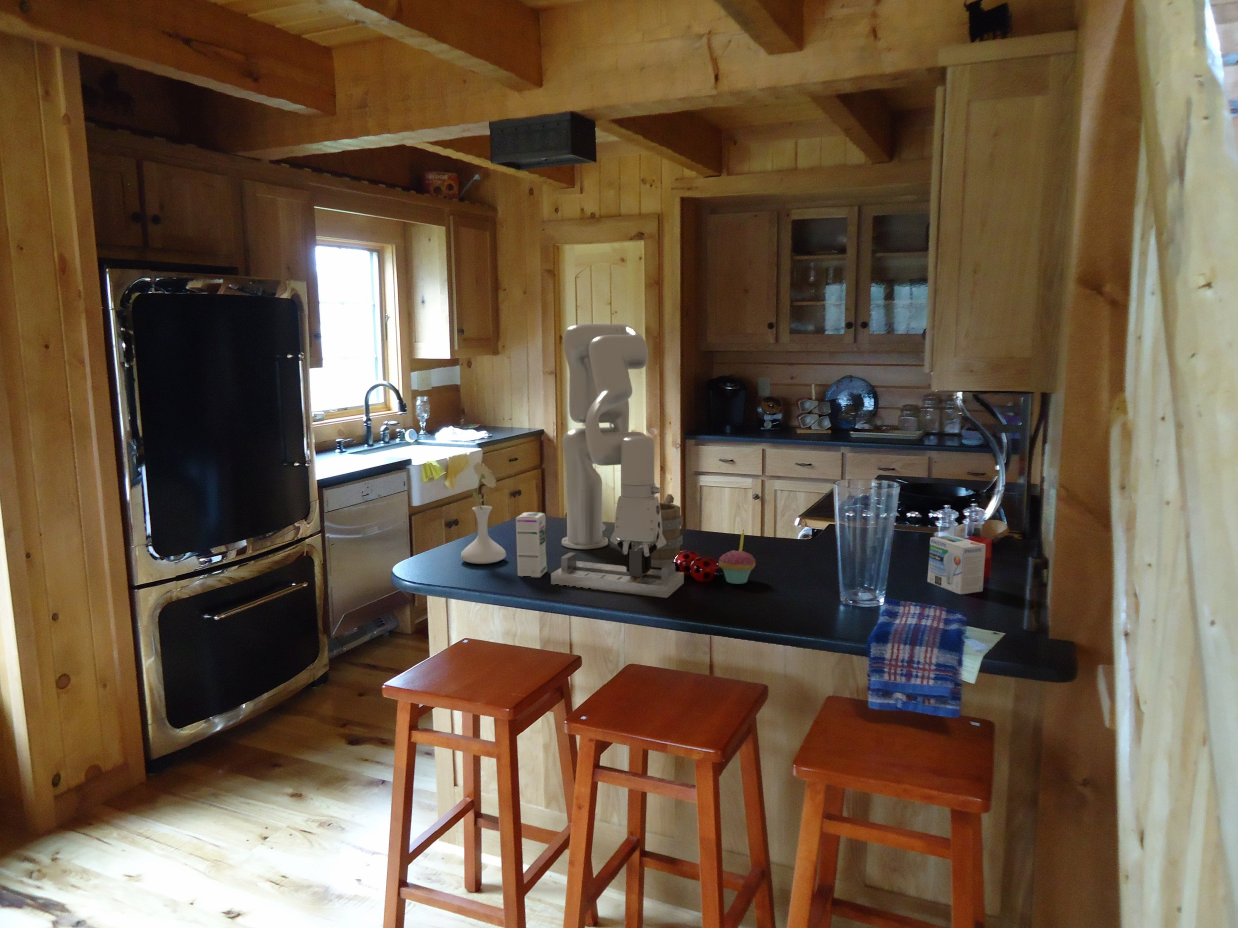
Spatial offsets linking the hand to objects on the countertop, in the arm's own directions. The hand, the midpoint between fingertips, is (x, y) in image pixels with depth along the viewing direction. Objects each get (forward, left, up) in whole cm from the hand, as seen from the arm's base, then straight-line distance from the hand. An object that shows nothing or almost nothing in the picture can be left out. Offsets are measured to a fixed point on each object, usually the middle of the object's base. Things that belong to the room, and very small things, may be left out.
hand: (638, 570), depth 198 cm
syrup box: (-1, -27, -4) cm, 28 cm away
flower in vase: (-7, -44, -4) cm, 45 cm away
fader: (-1, 0, -1) cm, 1 cm away
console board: (-1, -5, -4) cm, 7 cm away
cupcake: (-13, +20, -4) cm, 24 cm away
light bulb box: (-27, +67, -4) cm, 72 cm away
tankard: (-27, -3, -4) cm, 27 cm away
